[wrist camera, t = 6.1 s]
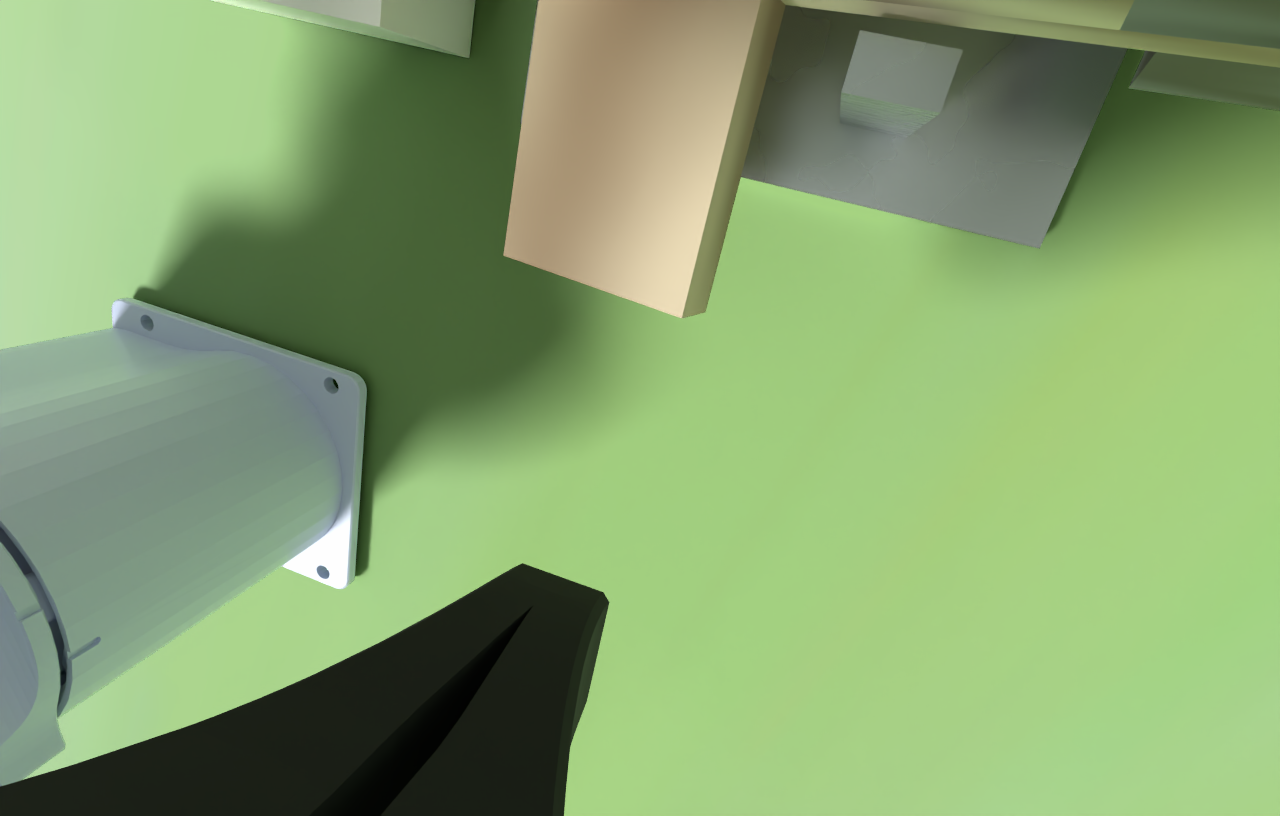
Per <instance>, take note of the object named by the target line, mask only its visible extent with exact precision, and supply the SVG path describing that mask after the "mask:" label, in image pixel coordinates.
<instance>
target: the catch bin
mask: <svg viewBox="0 0 1280 816" xmlns="http://www.w3.org/2000/svg"><path fill="white" fill-rule="evenodd" d="M210 1H215V2H219V3H224V4H228V5H233V6H237V7H242V8H246V9H251V10H255V11H260V12H264V13H269V14H273V15H278V16H282V17H287V18H291V19H296V20H300V21H304V22H309V23H313V24H318V25H322V26H327V27H331V28H336V29H340V30H345V31H349V32H354V33H358V34H363V35H367V36H372V37H376V38H381V39H385V40H390V41H394V42H399V43H403V44H407V45H412V46H416V47H421V48H425V49H430V50H434V51H439V52H443V53H448V54H452V55H457V56H461V57H466V58H469V56H470V46H471V37H472V28H473V18H474V9H475V0H210Z"/></svg>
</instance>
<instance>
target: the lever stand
mask: <svg viewBox="0 0 1280 816" xmlns="http://www.w3.org/2000/svg"><path fill="white" fill-rule="evenodd" d="M538 1H539V0H537V8H538ZM537 8H536V15H535V22H534V29H533V37H534V30H535V23H536V16H537ZM533 37H532V44H533ZM532 44H531V51H530V58H529V66H530V59H531V52H532ZM1127 49H1128V48H1121V47H1114V46H1106V45H1098V44H1090V43H1082V42H1074V41H1066V40H1058V39H1050V38H1043V37H1035V36H1027V35H1019V34H1011V33H1003V32H995V31H987V30H979V29H972V28H964V27H956V26H948V25H940V24H932V23H924V22H916V21H908V20H901V19H893V18H885V17H877V16H869V15H861V14H853V13H845V12H837V11H830V10H822V9H814V8H806V7H798V6H790V5H786V6H785V10H784V13H783V17H782V21H781V25H780V29H779V33H778V36H777V40H776V44H775V48H774V52H773V55H772V59H771V63H770V67H769V71H768V75H767V78H766V82H765V86H764V90H763V94H762V97H761V101H760V105H759V109H758V113H757V117H756V120H755V124H754V128H753V132H752V136H751V140H750V143H749V147H748V151H747V155H746V159H745V162H744V166H743V170H742V174H741V177H744V178H748V179H752V180H756V181H760V182H765V183H769V184H773V185H777V186H781V187H785V188H790V189H794V190H798V191H802V192H806V193H810V194H815V195H819V196H823V197H827V198H831V199H835V200H840V201H844V202H848V203H852V204H856V205H860V206H865V207H869V208H873V209H877V210H881V211H885V212H890V213H894V214H898V215H902V216H906V217H910V218H915V219H919V220H923V221H927V222H931V223H935V224H940V225H944V226H948V227H952V228H956V229H960V230H965V231H969V232H973V233H977V234H981V235H985V236H990V237H994V238H998V239H1002V240H1006V241H1010V242H1015V243H1019V244H1023V245H1027V246H1031V247H1035V248H1040V246H1041V244H1042V242H1043V239H1044V237H1045V235H1046V233H1047V230H1048V228H1049V226H1050V224H1051V221H1052V219H1053V217H1054V214H1055V212H1056V210H1057V208H1058V205H1059V203H1060V201H1061V199H1062V196H1063V194H1064V192H1065V190H1066V187H1067V185H1068V183H1069V181H1070V178H1071V176H1072V174H1073V171H1074V169H1075V167H1076V165H1077V162H1078V160H1079V158H1080V156H1081V153H1082V151H1083V149H1084V147H1085V144H1086V142H1087V140H1088V138H1089V135H1090V133H1091V131H1092V128H1093V126H1094V124H1095V122H1096V119H1097V117H1098V115H1099V113H1100V110H1101V108H1102V106H1103V104H1104V101H1105V99H1106V97H1107V95H1108V92H1109V90H1110V88H1111V85H1112V83H1113V81H1114V79H1115V76H1116V74H1117V72H1118V70H1119V67H1120V65H1121V63H1122V61H1123V58H1124V56H1125V54H1126V52H1127ZM529 66H528V73H529ZM528 73H527V80H526V87H525V95H526V88H527V81H528ZM525 95H524V102H525ZM524 102H523V109H522V117H523V110H524ZM522 117H521V124H522Z"/></svg>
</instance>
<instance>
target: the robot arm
mask: <svg viewBox="0 0 1280 816" xmlns="http://www.w3.org/2000/svg"><path fill="white" fill-rule="evenodd" d="M112 321H113V328H110V329H105V330H100V331H94V332H89V333H84V334H79V335H74V336H68V337H63V338H58V339H53V340H48V341H43V342H37V343H32V344H27V345H22V346H17V347H11V348H6V349H1V350H0V816H564V806H565V793H566V782H567V771H568V761H569V751H570V746H571V742H572V739H573V736H574V733H575V731H576V728H577V725H578V722H579V720H580V717H581V715H582V712H583V709H584V707H585V704H586V702H587V698H588V693H589V689H590V684H591V680H592V676H593V671H594V667H595V662H596V658H597V654H598V649H599V645H600V640H601V636H602V632H603V627H604V623H605V618H606V614H607V610H608V605H609V601H608V599H607V598H606V596H605V594H604V593H603V592H601V591H598V590H595V589H592V588H590V587H587V586H584V585H581V584H578V583H576V582H573V581H570V580H567V579H565V578H562V577H559V576H556V575H553V574H551V573H548V572H545V571H542V570H539V569H537V568H534V567H531V566H528V565H526V564H523V563H522V564H520V565H518V566H516V567H514V568H512V569H510V570H509V571H507V572H505V573H503V574H502V575H500V576H498V577H496V578H495V579H493V580H491V581H490V582H488V583H486V584H484V585H483V586H481V587H479V588H478V589H476V590H474V591H472V592H471V593H469V594H467V595H466V596H464V597H462V598H460V599H459V600H457V601H455V602H453V603H452V604H450V605H448V606H446V607H445V608H443V609H441V610H439V611H437V612H436V613H434V614H432V615H430V616H428V617H426V618H424V619H423V620H421V621H419V622H417V623H415V624H413V625H412V626H410V627H408V628H406V629H404V630H402V631H401V632H399V633H397V634H395V635H393V636H391V637H389V638H387V639H385V640H384V641H382V642H380V643H378V644H376V645H374V646H372V647H370V648H368V649H366V650H363V651H361V652H359V653H357V654H355V655H353V656H351V657H349V658H347V659H345V660H343V661H341V662H339V663H337V664H335V665H333V666H330V667H328V668H326V669H324V670H322V671H320V672H318V673H316V674H314V675H312V676H310V677H307V678H305V679H303V680H301V681H298V682H296V683H294V684H292V685H289V686H287V687H285V688H283V689H280V690H278V691H276V692H273V693H271V694H269V695H266V696H264V697H262V698H259V699H257V700H254V701H252V702H249V703H247V704H244V705H242V706H239V707H237V708H234V709H232V710H229V711H227V712H224V713H222V714H219V715H217V716H214V717H212V718H209V719H206V720H204V721H201V722H198V723H196V724H193V725H190V726H187V727H184V728H181V729H178V730H175V731H172V732H169V733H167V734H164V735H161V736H158V737H155V738H152V739H149V740H146V741H143V742H140V743H137V744H134V745H131V746H128V747H125V748H122V749H119V750H116V751H113V752H110V753H107V754H104V755H101V756H98V757H95V758H92V759H89V760H86V761H84V762H81V763H78V764H74V765H71V766H68V767H65V768H61V769H58V770H55V771H52V772H48V773H45V774H41V775H38V776H34V777H31V778H28V779H24V778H26V777H27V776H28V775H30V774H31V773H32V772H34V771H35V770H37V769H38V768H39V767H41V766H42V765H43V764H45V763H46V762H48V761H49V760H50V759H52V758H53V757H54V756H56V755H57V754H59V753H60V752H61V751H63V750H64V749H65V745H66V744H65V741H64V739H63V737H62V734H61V732H60V728H59V724H58V720H57V719H58V718H60V717H61V716H63V715H64V714H66V713H67V712H68V711H70V710H71V709H73V708H74V707H76V706H77V705H79V704H80V703H82V702H83V701H85V700H86V699H87V698H89V697H90V696H92V695H93V694H95V693H96V692H98V691H99V690H101V689H102V688H104V687H105V686H107V685H108V684H109V683H111V682H112V681H114V680H115V679H117V678H118V677H120V676H121V675H123V674H124V673H126V672H127V671H129V670H130V669H131V668H133V667H134V666H136V665H137V664H139V663H140V662H142V661H143V660H145V659H146V658H148V657H149V656H151V655H152V654H153V653H155V652H156V651H158V650H159V649H161V648H162V647H164V646H165V645H167V644H168V643H170V642H171V641H173V640H174V639H175V638H177V637H178V636H180V635H181V634H183V633H184V632H186V631H187V630H189V629H190V628H192V627H193V626H195V625H196V624H197V623H199V622H200V621H202V620H203V619H205V618H206V617H208V616H209V615H211V614H212V613H214V612H215V611H217V610H218V609H219V608H221V607H222V606H224V605H225V604H227V603H228V602H230V601H231V600H233V599H234V598H236V597H237V596H238V595H240V594H241V593H243V592H244V591H246V590H247V589H249V588H250V587H252V586H253V585H255V584H256V583H258V582H259V581H260V580H262V579H263V578H265V577H266V576H268V575H269V574H271V573H272V572H274V571H275V570H277V569H278V568H280V567H281V566H283V567H285V568H287V569H290V570H292V571H295V572H297V573H300V574H302V575H305V576H307V577H310V578H312V579H315V580H317V581H320V582H322V583H324V584H327V585H329V586H332V587H334V588H338V589H344V588H346V587H347V586H348V585H349V584H351V583H352V582H353V581H354V578H355V566H356V551H357V535H358V520H359V505H360V490H361V474H362V459H363V444H364V428H365V413H366V398H367V388H366V384H365V382H364V380H363V379H362V378H361V377H360V376H359V375H358V374H356V373H354V372H352V371H349V370H346V369H343V368H340V367H337V366H334V365H331V364H328V363H325V362H322V361H319V360H316V359H313V358H310V357H307V356H304V355H301V354H298V353H295V352H292V351H289V350H286V349H283V348H280V347H277V346H274V345H271V344H268V343H265V342H262V341H259V340H256V339H253V338H250V337H247V336H244V335H241V334H238V333H235V332H232V331H229V330H226V329H223V328H220V327H217V326H214V325H211V324H208V323H205V322H202V321H199V320H196V319H193V318H190V317H187V316H184V315H181V314H178V313H175V312H172V311H169V310H166V309H163V308H160V307H157V306H154V305H151V304H148V303H145V302H142V301H139V300H136V299H133V298H122V299H118V300H116V301H114V303H113V305H112ZM333 379H335V380H336V382H337V383H338V387H339V389H337V388H336V387H335V385H334V384H333ZM326 568H327V569H328V570H327V569H326ZM23 779H24V780H23Z"/></svg>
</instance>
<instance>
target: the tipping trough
mask: <svg viewBox="0 0 1280 816" xmlns="http://www.w3.org/2000/svg"><path fill="white" fill-rule="evenodd" d="M786 5H790V6H798V7H806V8H814V9H822V10H830V11H837V12H845V13H853V14H861V15H869V16H877V17H885V18H893V19H901V20H908V21H916V22H924V23H932V24H940V25H948V26H956V27H964V28H972V29H979V30H987V31H995V32H1003V33H1011V34H1019V35H1027V36H1035V37H1043V38H1050V39H1058V40H1066V41H1074V42H1082V43H1090V44H1098V45H1106V46H1114V47H1121V48H1129V49H1137V50H1145V53H1144V55H1143V57H1142V59H1141V62H1140V64H1139V66H1138V68H1137V70H1136V73H1135V75H1134V77H1133V79H1132V82H1131V84H1130V86H1129V89H1136V90H1143V91H1150V92H1156V93H1163V94H1170V95H1177V96H1183V97H1190V98H1197V99H1204V100H1211V101H1217V102H1224V103H1231V104H1238V105H1244V106H1251V107H1258V108H1265V109H1271V110H1278V111H1280V0H539V1H538V8H537V16H536V23H535V30H534V37H533V44H532V52H531V59H530V66H529V73H528V81H527V88H526V95H525V102H524V110H523V117H522V124H521V131H520V139H519V146H518V153H517V160H516V168H515V175H514V182H513V189H512V197H511V204H510V211H509V218H508V226H507V233H506V240H505V247H504V254H503V256H506V257H509V258H512V259H515V260H517V261H520V262H523V263H526V264H529V265H532V266H534V267H537V268H540V269H543V270H546V271H549V272H551V273H554V274H557V275H560V276H563V277H566V278H569V279H571V280H574V281H577V282H580V283H583V284H586V285H588V286H591V287H594V288H597V289H600V290H603V291H605V292H608V293H611V294H614V295H617V296H620V297H623V298H625V299H628V300H631V301H634V302H637V303H640V304H642V305H645V306H648V307H651V308H654V309H657V310H659V311H662V312H665V313H668V314H671V315H674V316H676V317H679V318H685V317H689V316H693V315H697V314H700V313H704V312H705V311H706V308H707V304H708V300H709V296H710V292H711V289H712V285H713V281H714V277H715V273H716V269H717V266H718V262H719V258H720V254H721V250H722V247H723V243H724V239H725V235H726V231H727V227H728V224H729V220H730V216H731V212H732V208H733V204H734V201H735V197H736V193H737V189H738V185H739V182H740V178H741V174H742V170H743V166H744V162H745V159H746V155H747V151H748V147H749V143H750V140H751V136H752V132H753V128H754V124H755V120H756V117H757V113H758V109H759V105H760V101H761V97H762V94H763V90H764V86H765V82H766V78H767V75H768V71H769V67H770V63H771V59H772V55H773V52H774V48H775V44H776V40H777V36H778V33H779V29H780V25H781V21H782V17H783V13H784V10H785V6H786Z"/></svg>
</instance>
